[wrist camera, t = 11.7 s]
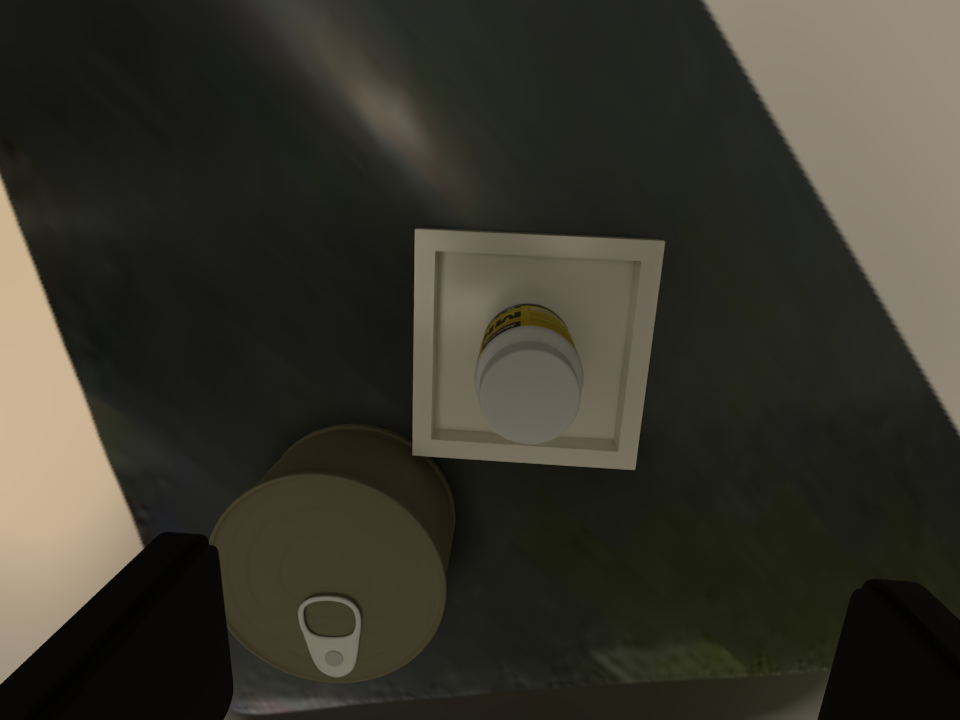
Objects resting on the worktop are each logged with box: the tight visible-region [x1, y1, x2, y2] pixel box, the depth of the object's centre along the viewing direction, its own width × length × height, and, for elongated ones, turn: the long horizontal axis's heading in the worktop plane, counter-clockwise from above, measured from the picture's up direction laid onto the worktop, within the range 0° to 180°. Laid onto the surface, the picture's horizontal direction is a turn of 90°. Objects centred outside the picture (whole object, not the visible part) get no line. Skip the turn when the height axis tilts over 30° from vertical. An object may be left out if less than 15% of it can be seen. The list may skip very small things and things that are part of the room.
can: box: [209, 423, 456, 683], centre depth 30 cm, size 12×12×7 cm
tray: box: [412, 228, 665, 470], centre depth 29 cm, size 12×12×2 cm
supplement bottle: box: [474, 303, 584, 444], centre depth 25 cm, size 5×5×8 cm
